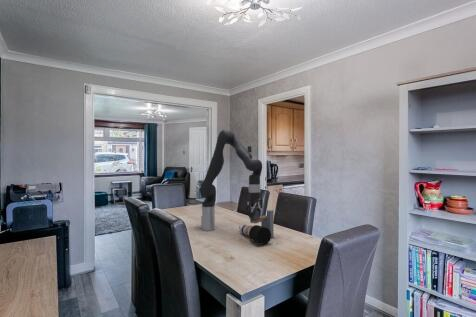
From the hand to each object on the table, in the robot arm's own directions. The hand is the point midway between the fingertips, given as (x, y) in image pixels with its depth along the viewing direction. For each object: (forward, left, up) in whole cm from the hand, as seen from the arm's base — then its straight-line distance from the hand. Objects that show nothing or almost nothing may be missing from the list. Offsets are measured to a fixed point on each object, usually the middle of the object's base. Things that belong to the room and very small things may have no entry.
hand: (254, 216), depth 164 cm
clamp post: (+1, +12, -16) cm, 20 cm away
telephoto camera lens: (-6, +4, -16) cm, 18 cm away
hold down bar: (0, +6, -4) cm, 7 cm away
